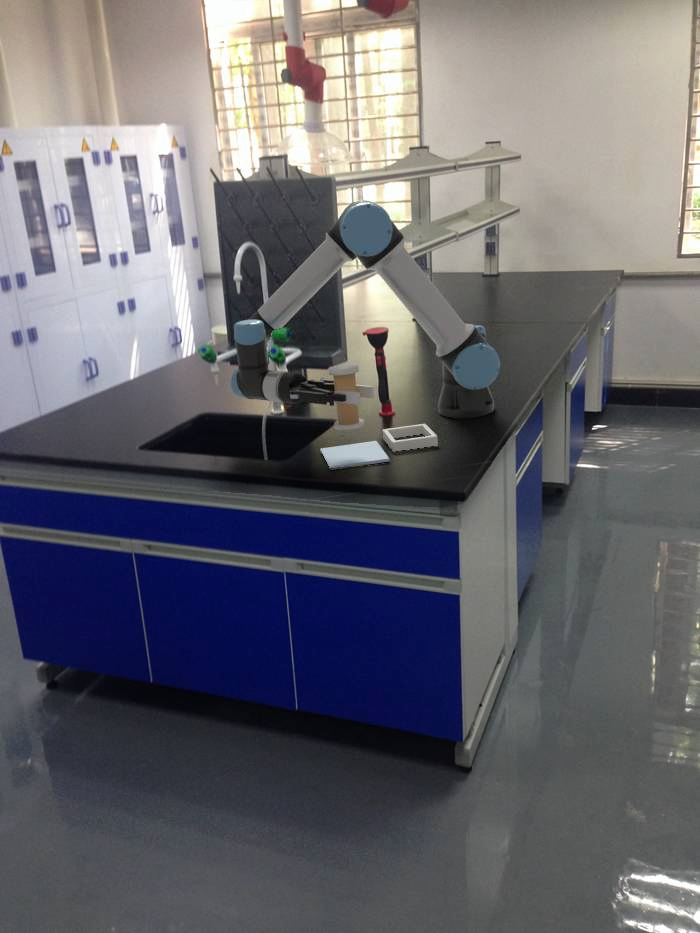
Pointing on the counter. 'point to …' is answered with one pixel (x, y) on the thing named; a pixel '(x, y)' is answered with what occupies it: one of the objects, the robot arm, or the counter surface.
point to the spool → (345, 412)
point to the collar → (411, 443)
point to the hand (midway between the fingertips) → (365, 395)
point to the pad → (354, 454)
